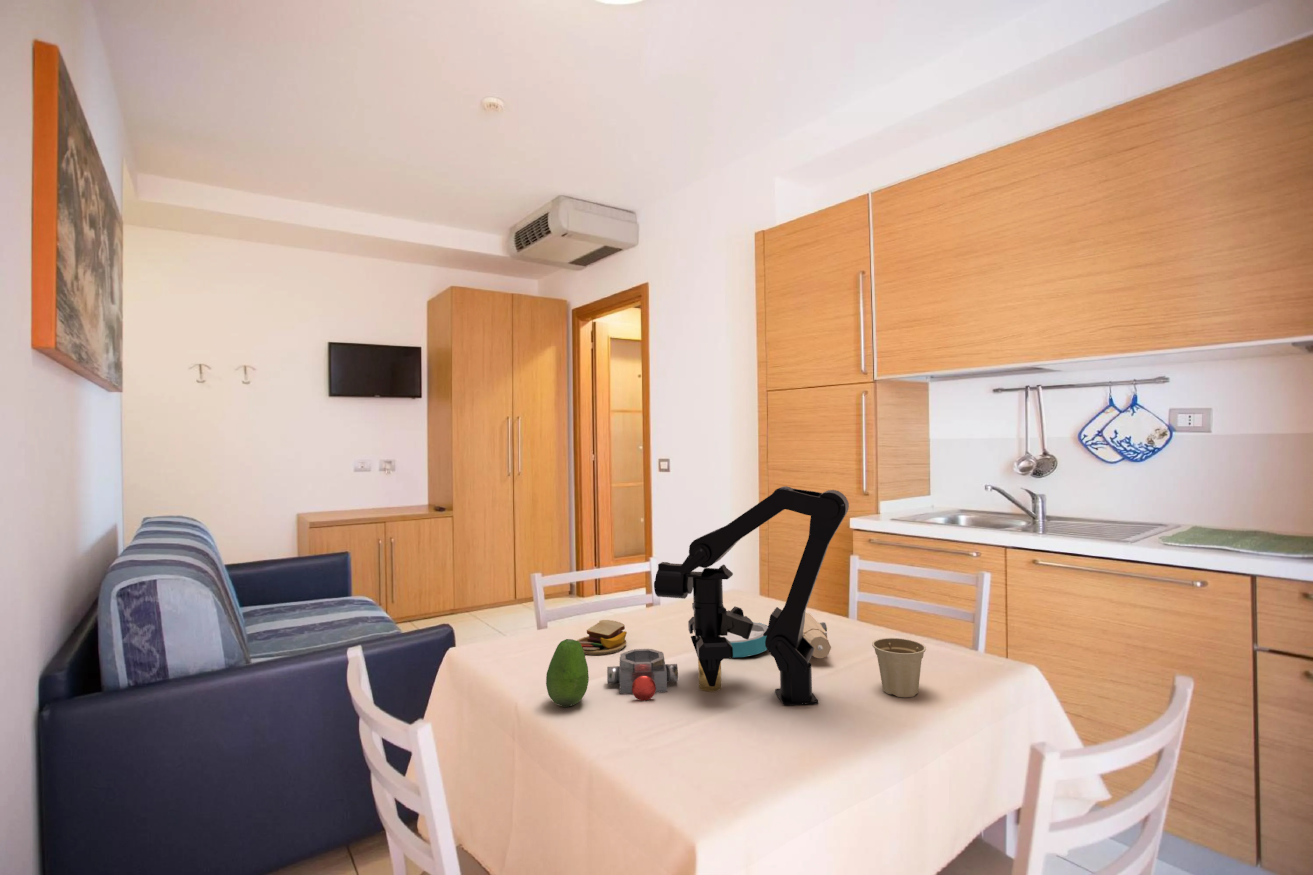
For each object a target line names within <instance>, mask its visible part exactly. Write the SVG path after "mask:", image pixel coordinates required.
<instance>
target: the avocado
mask: <svg viewBox="0 0 1313 875" xmlns="http://www.w3.org/2000/svg"><path fill="white" fill-rule="evenodd" d="M545 677H546V678H545V684H546V690H547V695H548V697H549V698H550V700H551V701H552V702H553V703H554V704H556V705H557V706H559V707H572V706H575V705H577V704H578V703H579V702H580V701H582V700H583V697H584V696H585V695H586V692H587V690H588V686H589V678H590V677H589V666H588V662H587V659H586V654H584V651H583V648H582V646H581V643H580V642H579V641H577V640H576V639H572V638H566V639H564V640H562V641H560V642H559V643H558V644H557V646H556V648H555V651H554V653H553V655H552V657H551V659H550V662H549V665H548V667H547V671H546V676H545Z"/></svg>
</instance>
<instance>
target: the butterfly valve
mask: <svg viewBox="0 0 1313 875" xmlns="http://www.w3.org/2000/svg"><path fill="white" fill-rule="evenodd" d="M752 622H753V621H752ZM753 623H754V624H753V627H752V630H751V633H750V636H749V639H744V638H742V637H741V636H738V635H735V634H732V633H729V632H727V636H721V635H720V637H725V638H726V639H727V640H728V641H729V642H730V643H731V645H732V647H733V658H745V657H750V656H755V655H759V654H761V653H764V652H765V651H768V650H767V648H766V646H765V640H766V637H767V636H763V634H764V633H765V631H766V630H767V628H768V625H767V624H764V623H761V622H753ZM803 637H804V638H805V639H806V640H807V641H808V642H809V643H810V644H811V645H812V646H813V647H814V652H813V655H812V657H814V658H816V659H824V658H826V657H827V656H828V655H830V652H831V650H832V649H831V648H832V647H831V644H830V642H829V639H828V627H827V624H826V622H818V620H817V619H815V617H814V616H813V615H812V614H811V613H810V612H806V611H805V623H804V630H803Z"/></svg>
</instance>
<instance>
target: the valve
mask: <svg viewBox="0 0 1313 875" xmlns="http://www.w3.org/2000/svg"><path fill="white" fill-rule="evenodd" d="M619 655H620V656H619V665H617V666H615V665H613V666H607V670H606V673H607V675H606V678H607V679H606V680H607V685H616V684H619V695H630V694H631V695H633V696H634V698H636V699H637V700H639V701H642V702H645V701H649V700H651V699H652V698H653V697H654V696H655V695H656V693H668V682H679V671H678V663H670V664H669V663H666V661H665V655H664V652H663V651H660V650H657V649H653V648H636V649H630V650H627V651H625V652H622V653H620V654H619Z"/></svg>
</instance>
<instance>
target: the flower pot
mask: <svg viewBox="0 0 1313 875" xmlns="http://www.w3.org/2000/svg"><path fill="white" fill-rule="evenodd" d="M871 645H872V648H873V649H874V653H875V655H876V658H877V664H878V669H879V674H880V680H881V686H882V691H883V692H884V693H886V694H888V695H894V696H896V697H898V698H913V697H915V696H916V695H918V694H919V690H920V679H921V678H920V677H921V670H922V669H921V668H922V661H923V658H924V653H925V652H926V650H927V647H926V646H925V645H924V644H923V643H921V642H919V641H917V640H916V641H915V640H912V639H909V638H908V639H907V638H900V637H884V638H879V639H875V640H874V641H872V644H871Z"/></svg>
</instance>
